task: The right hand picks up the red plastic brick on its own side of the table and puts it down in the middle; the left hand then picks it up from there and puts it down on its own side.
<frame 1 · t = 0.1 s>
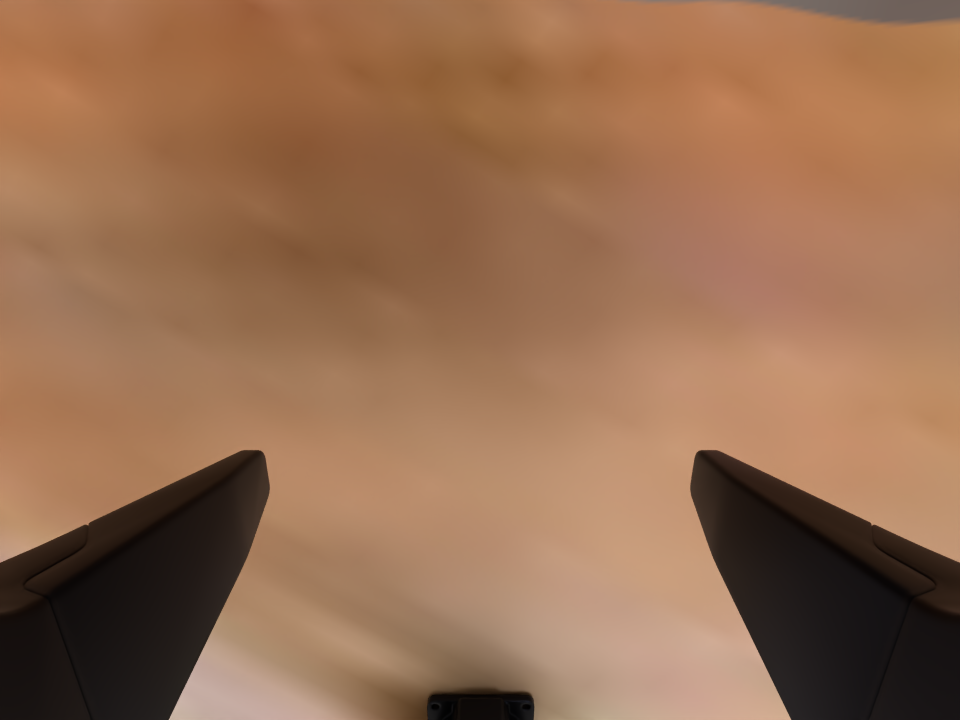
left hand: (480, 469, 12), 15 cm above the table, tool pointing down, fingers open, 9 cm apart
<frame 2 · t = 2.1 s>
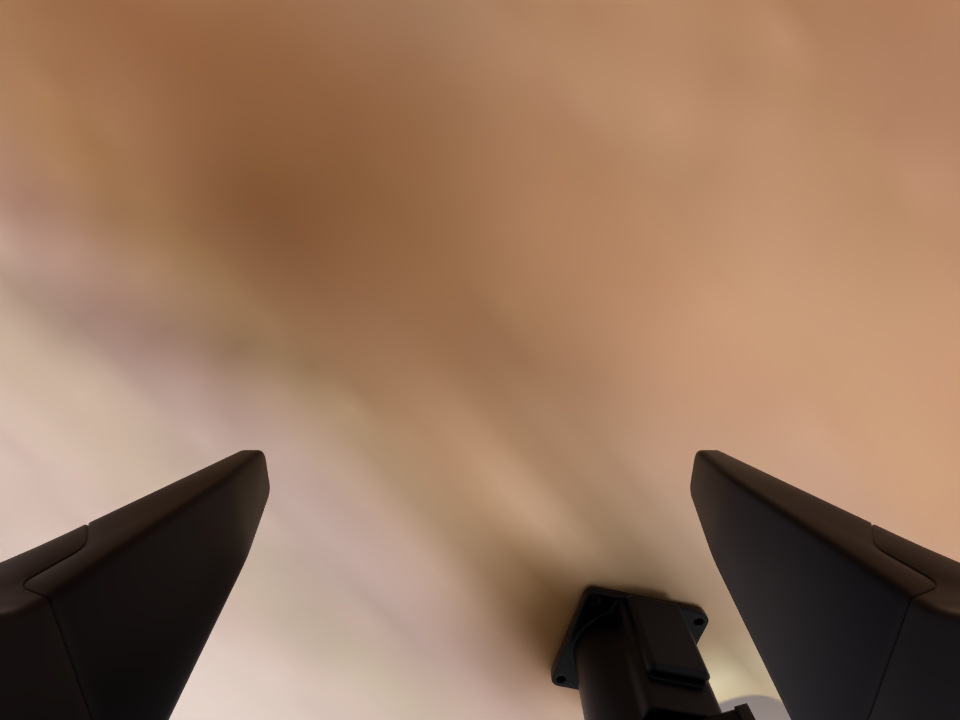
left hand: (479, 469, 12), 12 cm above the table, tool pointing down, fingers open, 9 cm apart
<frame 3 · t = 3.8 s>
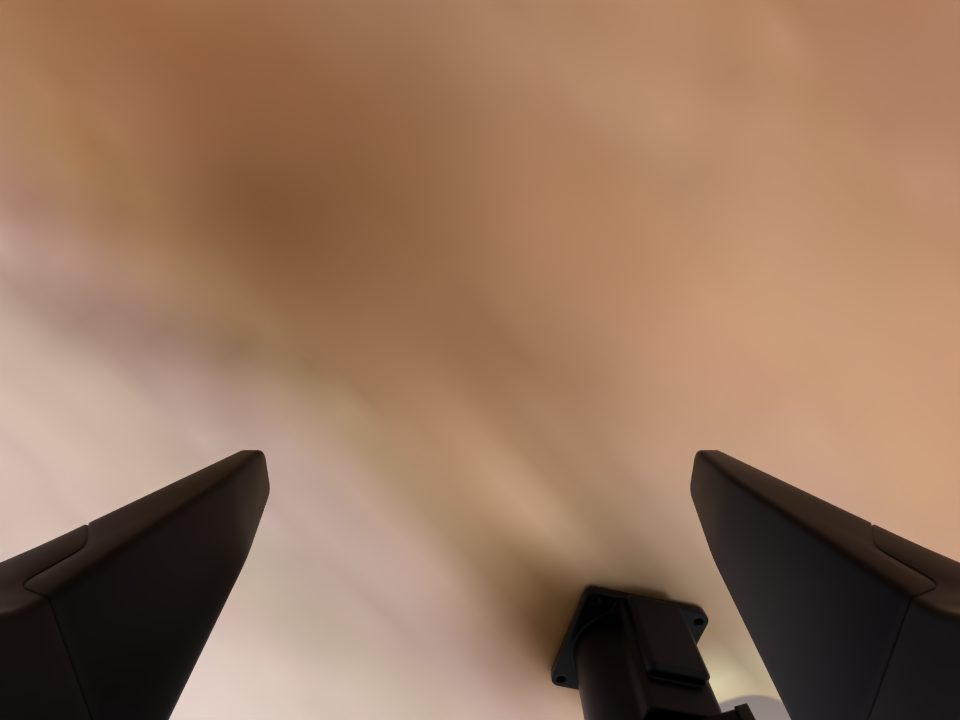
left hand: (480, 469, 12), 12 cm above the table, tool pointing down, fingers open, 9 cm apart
when the right hand's fingers open (2 cm above the table, at t = 5.6 s): brick stays where it is, on the table.
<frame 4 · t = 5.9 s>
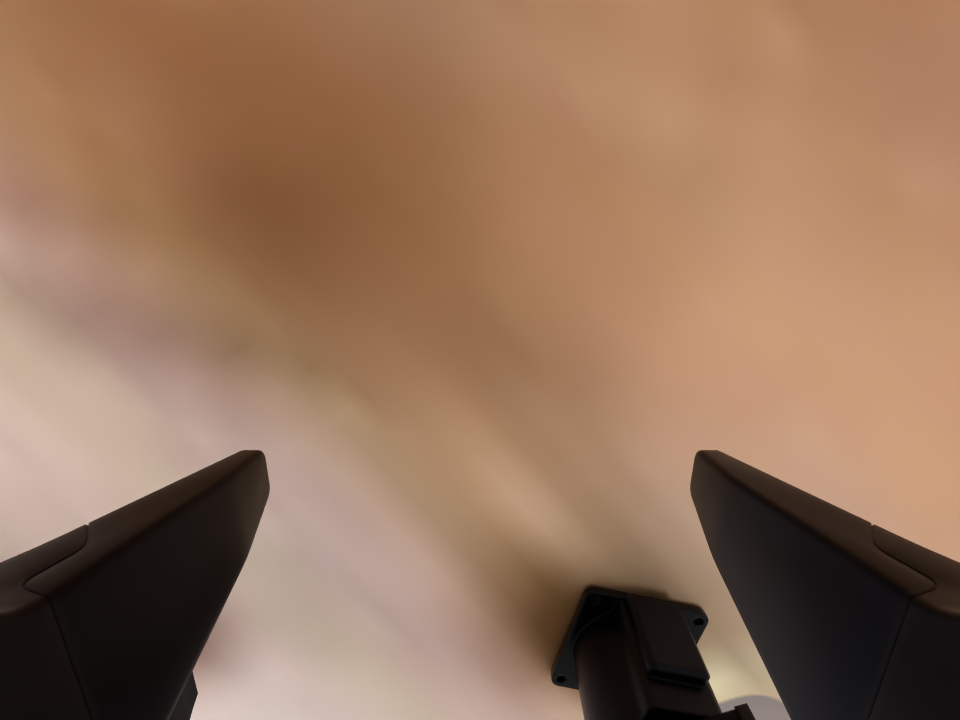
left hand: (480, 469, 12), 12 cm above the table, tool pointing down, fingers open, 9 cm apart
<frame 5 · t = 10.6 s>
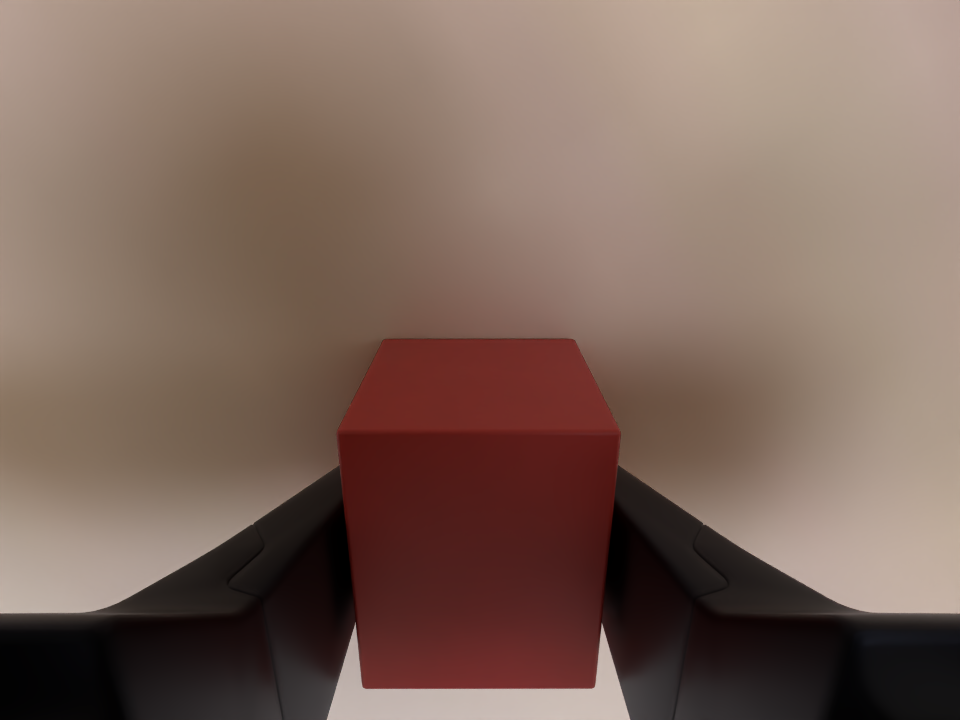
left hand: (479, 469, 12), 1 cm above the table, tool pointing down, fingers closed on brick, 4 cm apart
brick: (478, 443, 12), on the table, touching left hand
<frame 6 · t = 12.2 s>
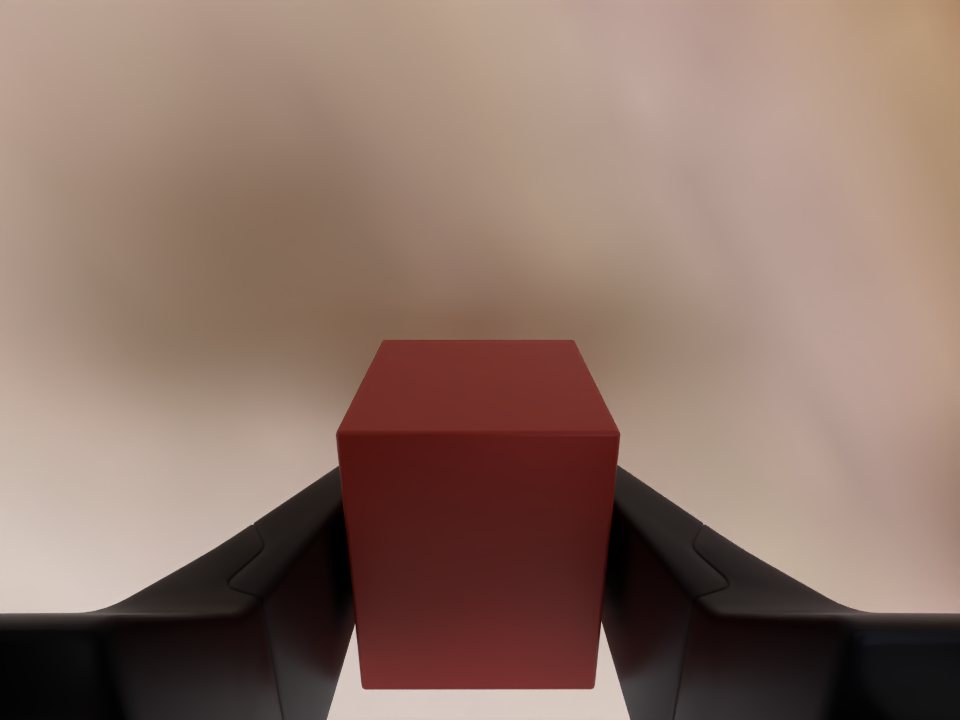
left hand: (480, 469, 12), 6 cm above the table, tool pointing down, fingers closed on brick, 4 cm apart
brick: (478, 444, 12), point 5 cm above the table, touching left hand
when the left hand's fingers open (2 cm above the table, at t = 13.9 s): brick stays where it is, on the table.
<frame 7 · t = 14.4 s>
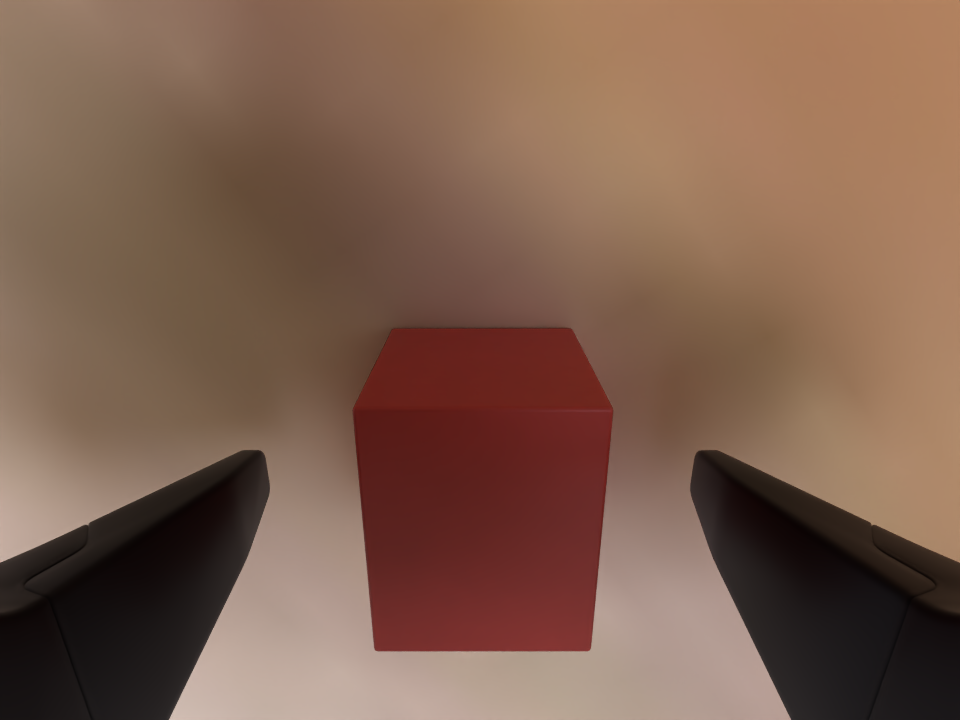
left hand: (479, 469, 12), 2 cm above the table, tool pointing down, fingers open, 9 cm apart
brick: (481, 428, 13), on the table
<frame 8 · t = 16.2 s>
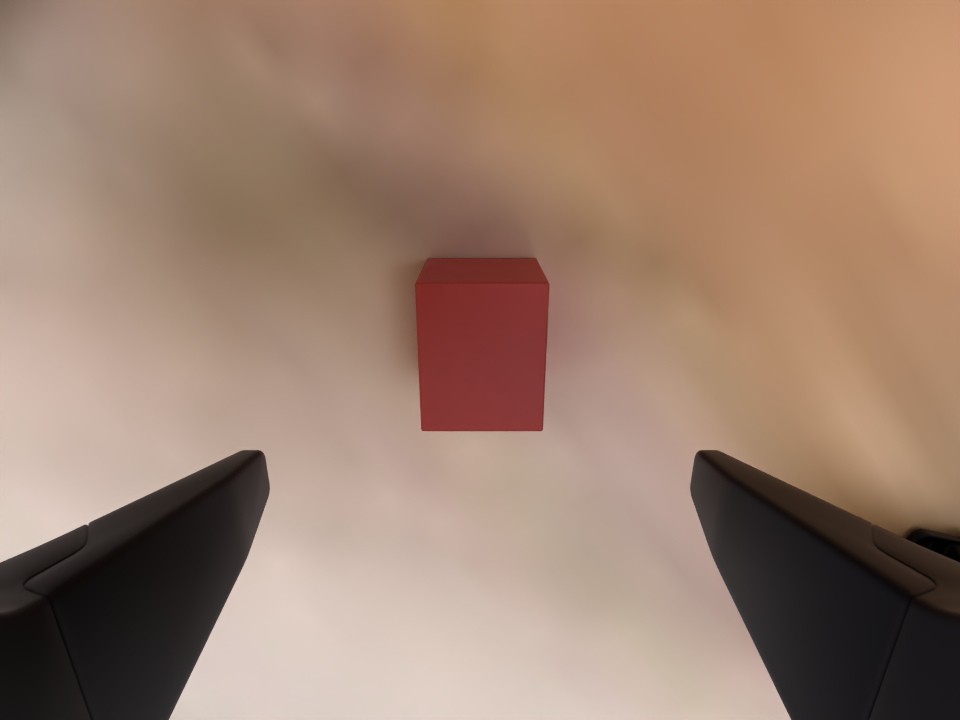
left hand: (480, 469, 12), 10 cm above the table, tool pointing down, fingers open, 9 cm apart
brick: (481, 323, 21), on the table
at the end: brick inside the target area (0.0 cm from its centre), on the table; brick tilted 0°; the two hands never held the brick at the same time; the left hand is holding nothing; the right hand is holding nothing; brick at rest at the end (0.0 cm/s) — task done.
